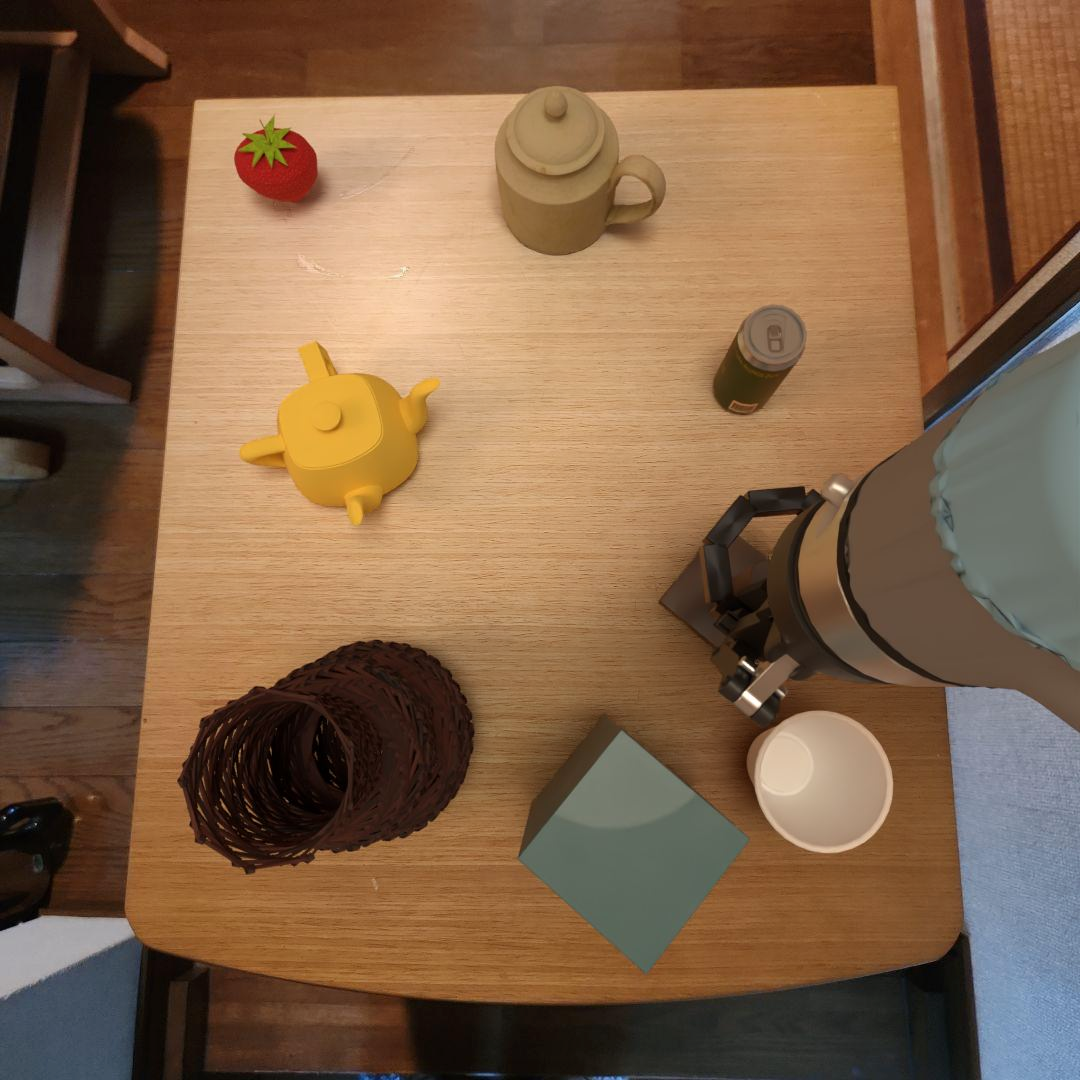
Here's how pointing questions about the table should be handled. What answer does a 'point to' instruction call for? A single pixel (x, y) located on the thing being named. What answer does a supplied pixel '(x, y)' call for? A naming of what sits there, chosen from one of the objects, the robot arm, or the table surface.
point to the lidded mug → (566, 172)
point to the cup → (821, 781)
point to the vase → (330, 757)
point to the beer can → (759, 358)
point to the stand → (627, 842)
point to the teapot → (344, 435)
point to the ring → (727, 531)
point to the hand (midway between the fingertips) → (744, 620)
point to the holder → (689, 590)
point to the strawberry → (277, 163)
